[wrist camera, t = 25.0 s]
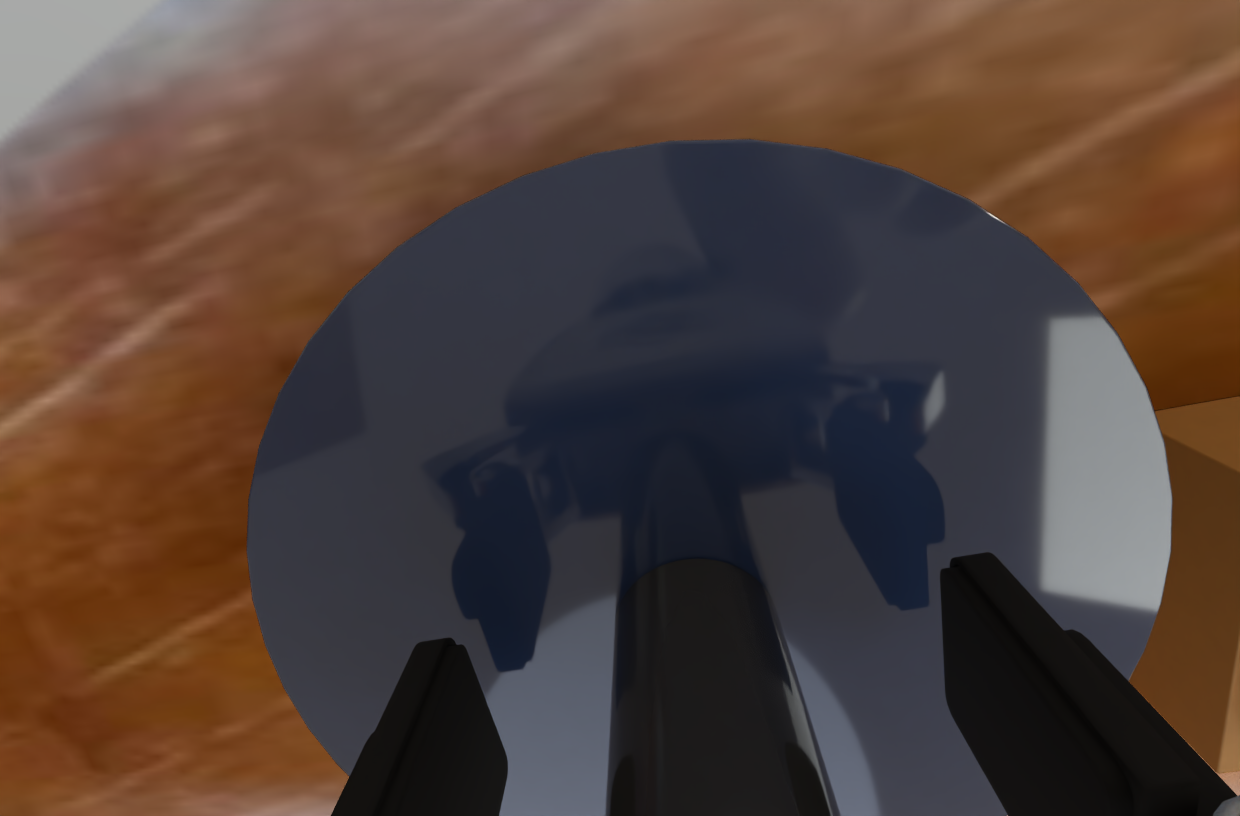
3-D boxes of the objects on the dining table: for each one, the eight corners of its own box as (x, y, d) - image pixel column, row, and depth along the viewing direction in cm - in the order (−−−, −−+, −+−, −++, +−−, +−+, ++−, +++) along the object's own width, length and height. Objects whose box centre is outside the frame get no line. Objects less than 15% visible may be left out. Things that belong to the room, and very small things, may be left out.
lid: (1159, 22, 9) (2526, -361, 2) (1100, 816, 15) (1468, 1334, 8) (127, 266, 11) (-675, 420, 4) (433, 894, 16) (297, 1374, 10)
